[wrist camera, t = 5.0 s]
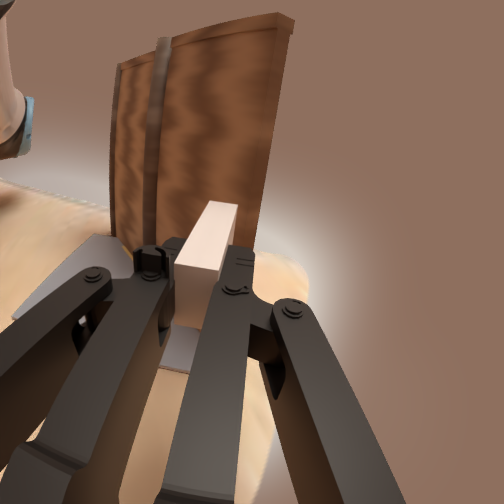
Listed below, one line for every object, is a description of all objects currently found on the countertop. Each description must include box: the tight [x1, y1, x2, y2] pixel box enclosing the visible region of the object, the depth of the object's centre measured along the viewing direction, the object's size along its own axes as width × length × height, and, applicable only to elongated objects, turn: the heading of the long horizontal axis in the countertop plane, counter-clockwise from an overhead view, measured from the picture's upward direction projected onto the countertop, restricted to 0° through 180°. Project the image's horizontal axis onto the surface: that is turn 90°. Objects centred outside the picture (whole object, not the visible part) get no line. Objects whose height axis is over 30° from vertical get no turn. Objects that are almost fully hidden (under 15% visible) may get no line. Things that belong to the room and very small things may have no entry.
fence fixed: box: [109, 37, 172, 256], centre depth 30 cm, size 16×2×26 cm, turn 42°
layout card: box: [12, 234, 200, 374], centre depth 31 cm, size 20×20×1 cm
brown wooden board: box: [156, 12, 295, 333], centre depth 21 cm, size 12×1×25 cm, turn 42°
